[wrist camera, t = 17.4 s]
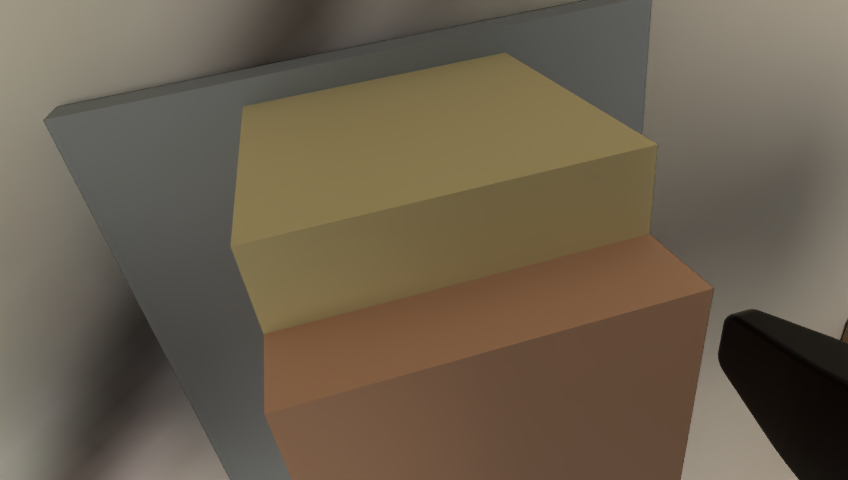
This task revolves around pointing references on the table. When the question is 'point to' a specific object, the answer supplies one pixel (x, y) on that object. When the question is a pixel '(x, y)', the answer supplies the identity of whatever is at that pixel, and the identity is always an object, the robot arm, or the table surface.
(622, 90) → the mat
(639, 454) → the plug block
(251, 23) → the table surface
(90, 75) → the table surface
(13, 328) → the table surface
